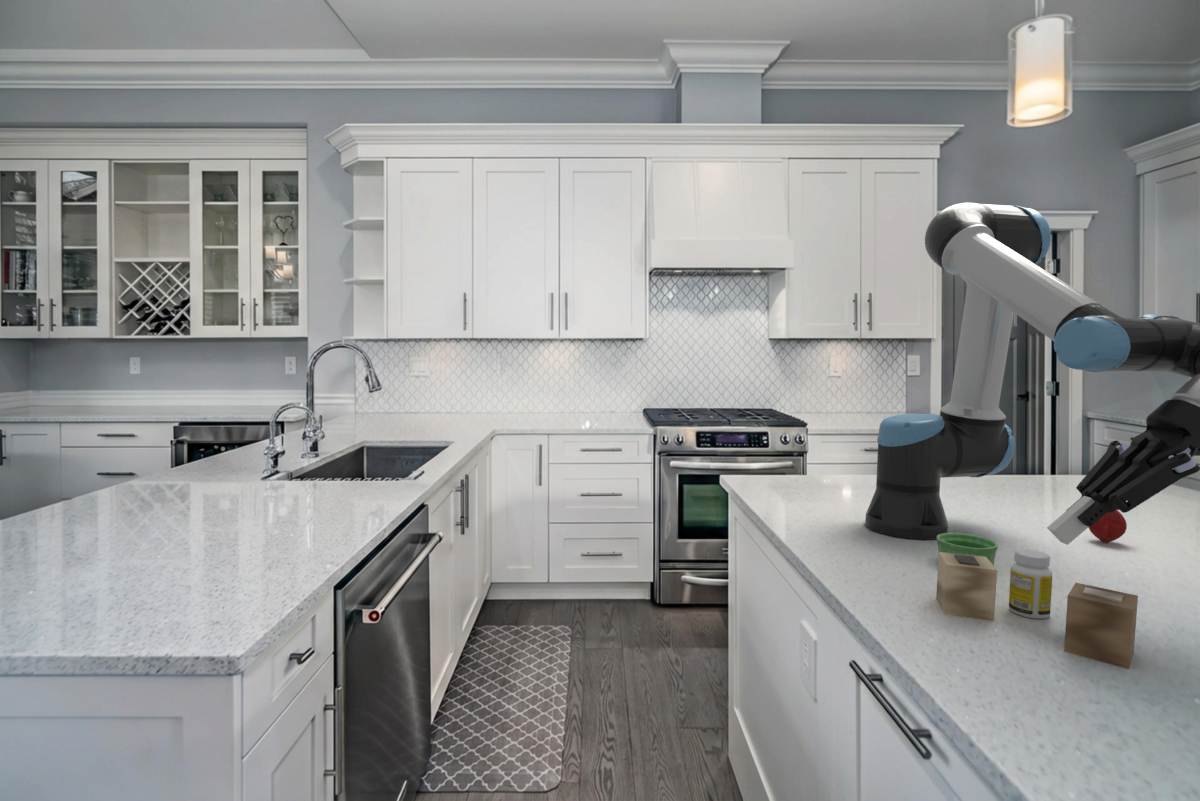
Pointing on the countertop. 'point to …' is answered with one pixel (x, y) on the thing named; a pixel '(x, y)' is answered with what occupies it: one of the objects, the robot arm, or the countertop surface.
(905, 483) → the robot arm
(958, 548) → the ramekin
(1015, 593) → the supplement bottle
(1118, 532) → the onion
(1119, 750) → the countertop surface
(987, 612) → the maple block
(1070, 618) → the walnut block
